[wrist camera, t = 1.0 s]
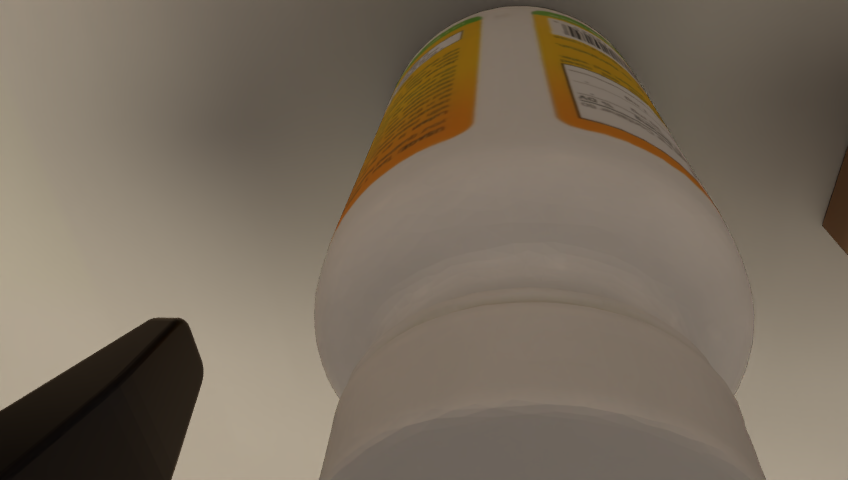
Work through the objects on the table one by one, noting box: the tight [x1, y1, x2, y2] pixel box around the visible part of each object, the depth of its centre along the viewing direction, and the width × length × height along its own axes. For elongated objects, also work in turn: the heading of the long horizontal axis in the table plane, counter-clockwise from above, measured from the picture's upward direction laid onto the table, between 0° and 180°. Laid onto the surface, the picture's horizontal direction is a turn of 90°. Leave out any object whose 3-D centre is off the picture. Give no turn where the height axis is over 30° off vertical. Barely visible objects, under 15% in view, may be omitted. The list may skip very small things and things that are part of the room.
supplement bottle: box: [314, 6, 766, 480], centre depth 9 cm, size 5×5×10 cm
